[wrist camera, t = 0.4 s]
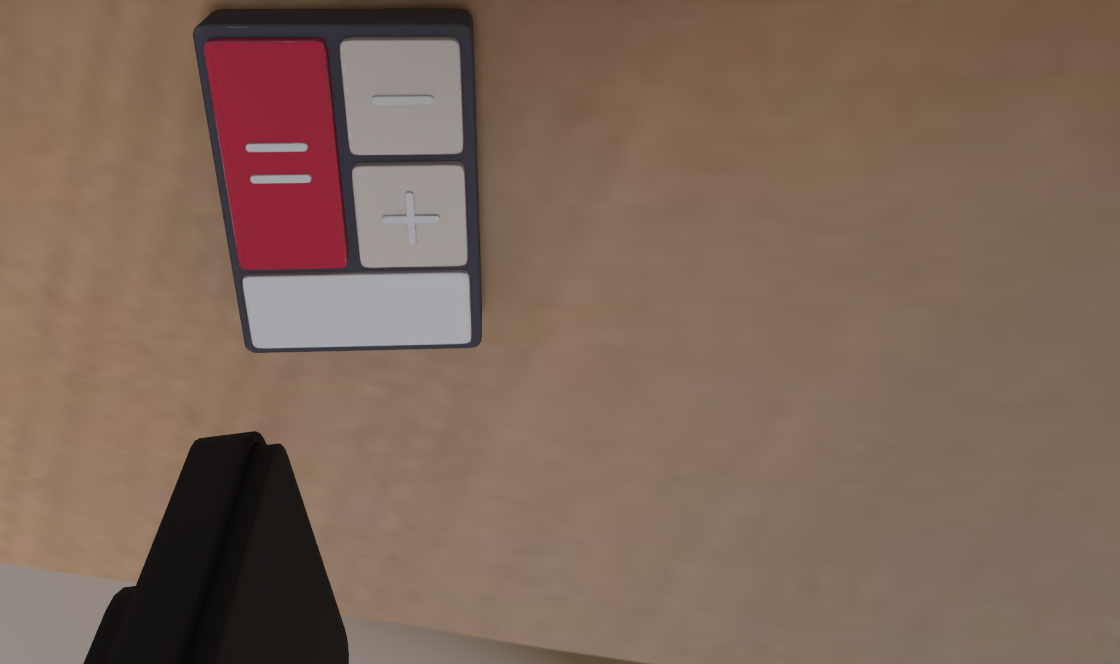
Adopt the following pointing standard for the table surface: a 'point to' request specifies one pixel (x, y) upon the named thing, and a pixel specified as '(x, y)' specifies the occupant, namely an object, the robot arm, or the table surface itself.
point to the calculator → (347, 175)
